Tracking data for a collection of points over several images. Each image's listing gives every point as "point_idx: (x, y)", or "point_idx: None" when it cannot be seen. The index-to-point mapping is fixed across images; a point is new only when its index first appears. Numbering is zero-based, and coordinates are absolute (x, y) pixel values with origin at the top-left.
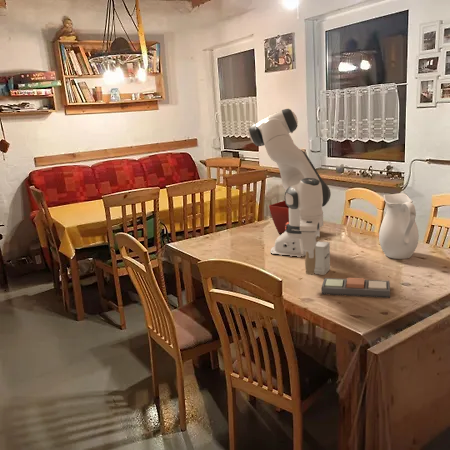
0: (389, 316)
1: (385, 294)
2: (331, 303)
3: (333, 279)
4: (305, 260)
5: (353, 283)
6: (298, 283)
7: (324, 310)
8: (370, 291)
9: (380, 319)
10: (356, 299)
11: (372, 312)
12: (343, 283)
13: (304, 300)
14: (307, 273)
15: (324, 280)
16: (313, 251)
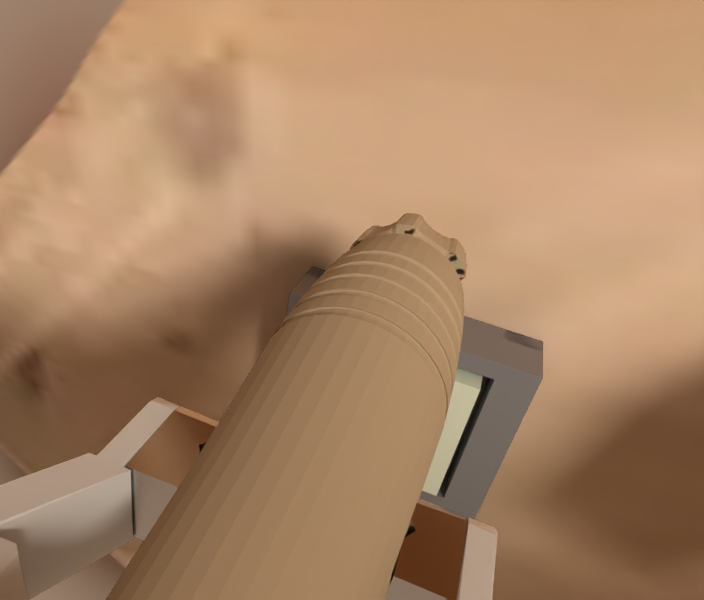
0: None
1: None
2: (160, 296)
3: (458, 436)
4: (325, 305)
5: None
6: (648, 77)
7: (54, 228)
8: None
9: (29, 451)
10: None
11: (88, 451)
12: (450, 472)
13: (189, 103)
14: (366, 232)
15: (474, 362)
16: (41, 572)
